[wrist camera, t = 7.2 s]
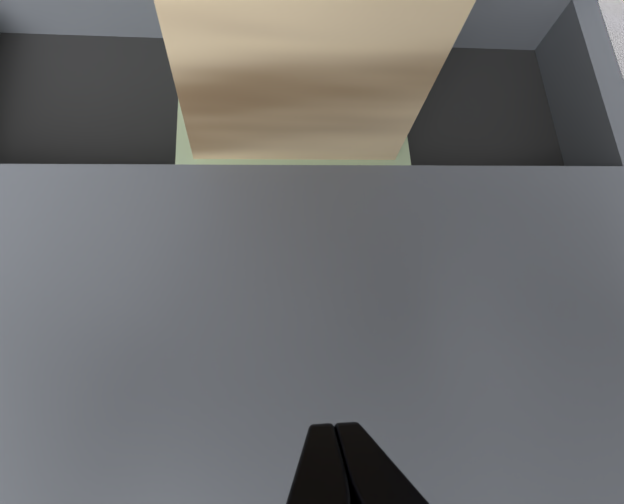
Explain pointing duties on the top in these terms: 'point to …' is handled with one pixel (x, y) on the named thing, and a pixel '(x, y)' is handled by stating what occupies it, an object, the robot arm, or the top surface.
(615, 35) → the top surface
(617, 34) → the top surface
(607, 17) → the top surface
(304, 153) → the maple block
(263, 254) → the board
